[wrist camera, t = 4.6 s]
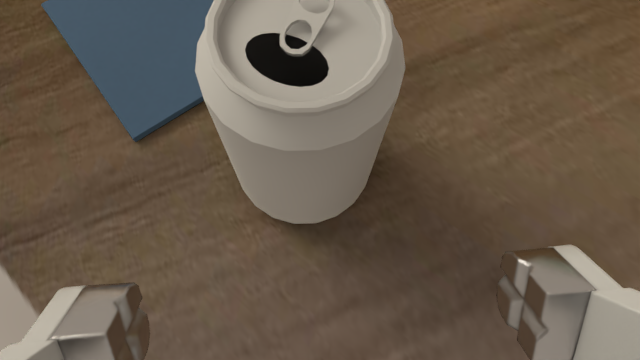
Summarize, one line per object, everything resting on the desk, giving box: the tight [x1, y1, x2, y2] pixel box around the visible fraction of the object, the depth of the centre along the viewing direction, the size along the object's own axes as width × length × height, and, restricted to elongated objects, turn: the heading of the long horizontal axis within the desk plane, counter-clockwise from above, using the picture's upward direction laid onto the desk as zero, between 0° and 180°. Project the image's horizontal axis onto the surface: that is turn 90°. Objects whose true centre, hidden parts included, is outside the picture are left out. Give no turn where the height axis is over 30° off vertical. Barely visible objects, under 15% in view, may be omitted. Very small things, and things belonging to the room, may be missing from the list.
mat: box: [41, 0, 214, 142], centre depth 28 cm, size 14×12×1 cm
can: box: [195, 0, 405, 224], centre depth 20 cm, size 8×8×12 cm
